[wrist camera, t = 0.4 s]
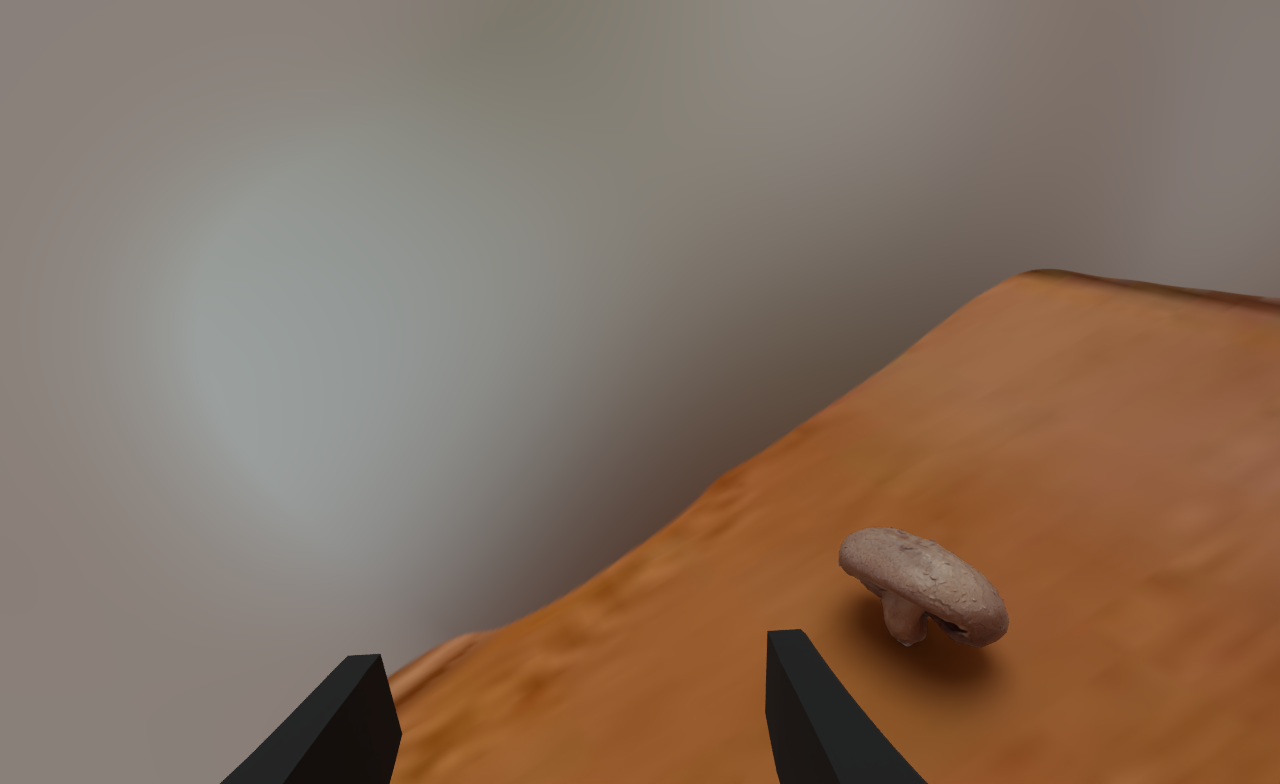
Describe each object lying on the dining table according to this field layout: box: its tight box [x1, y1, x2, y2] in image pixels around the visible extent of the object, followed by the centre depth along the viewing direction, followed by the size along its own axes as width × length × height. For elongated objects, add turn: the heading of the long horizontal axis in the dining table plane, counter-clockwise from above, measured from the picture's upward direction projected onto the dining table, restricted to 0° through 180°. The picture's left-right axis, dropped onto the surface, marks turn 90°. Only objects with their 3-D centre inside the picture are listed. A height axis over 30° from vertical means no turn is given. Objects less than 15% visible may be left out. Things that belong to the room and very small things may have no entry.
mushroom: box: [839, 527, 1009, 648], centre depth 31 cm, size 8×6×8 cm
